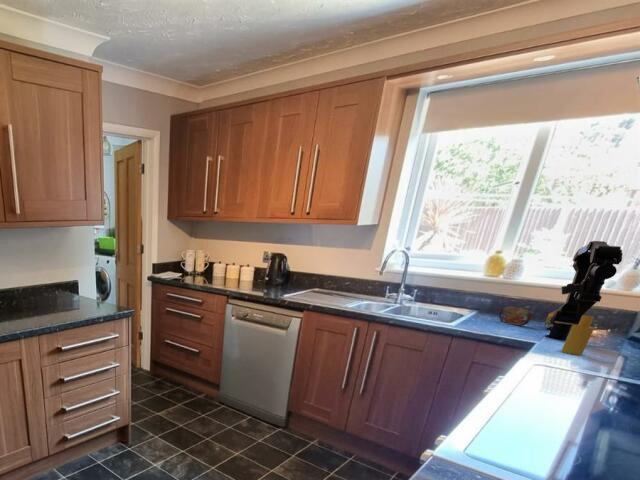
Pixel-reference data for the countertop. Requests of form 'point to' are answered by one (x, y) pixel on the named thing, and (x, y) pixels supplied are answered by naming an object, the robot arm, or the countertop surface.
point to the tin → (515, 315)
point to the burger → (547, 323)
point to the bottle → (578, 336)
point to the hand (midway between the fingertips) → (578, 316)
